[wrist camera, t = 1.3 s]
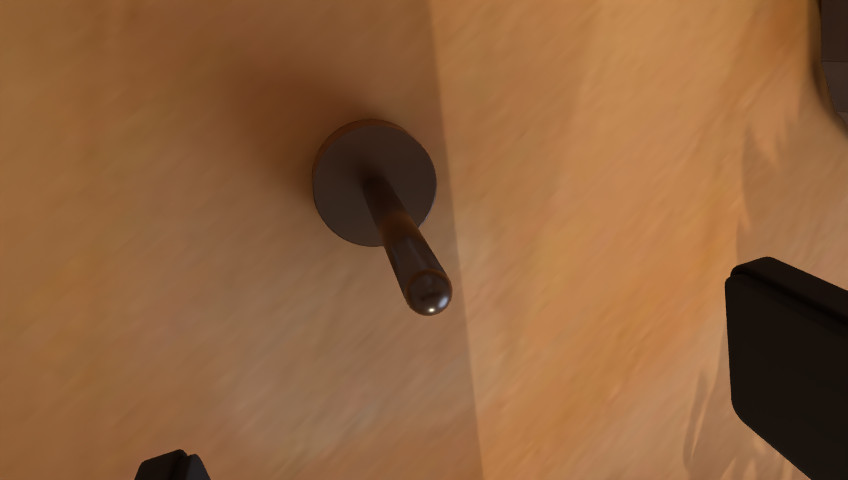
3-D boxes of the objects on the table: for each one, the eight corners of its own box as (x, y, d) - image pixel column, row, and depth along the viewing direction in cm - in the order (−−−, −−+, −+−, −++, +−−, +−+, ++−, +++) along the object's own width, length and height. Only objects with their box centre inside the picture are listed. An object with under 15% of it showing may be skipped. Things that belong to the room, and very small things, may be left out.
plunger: (296, 137, 25) (291, 233, 12) (412, 105, 25) (516, 167, 13) (332, 246, 26) (358, 422, 14) (438, 214, 27) (552, 358, 15)
